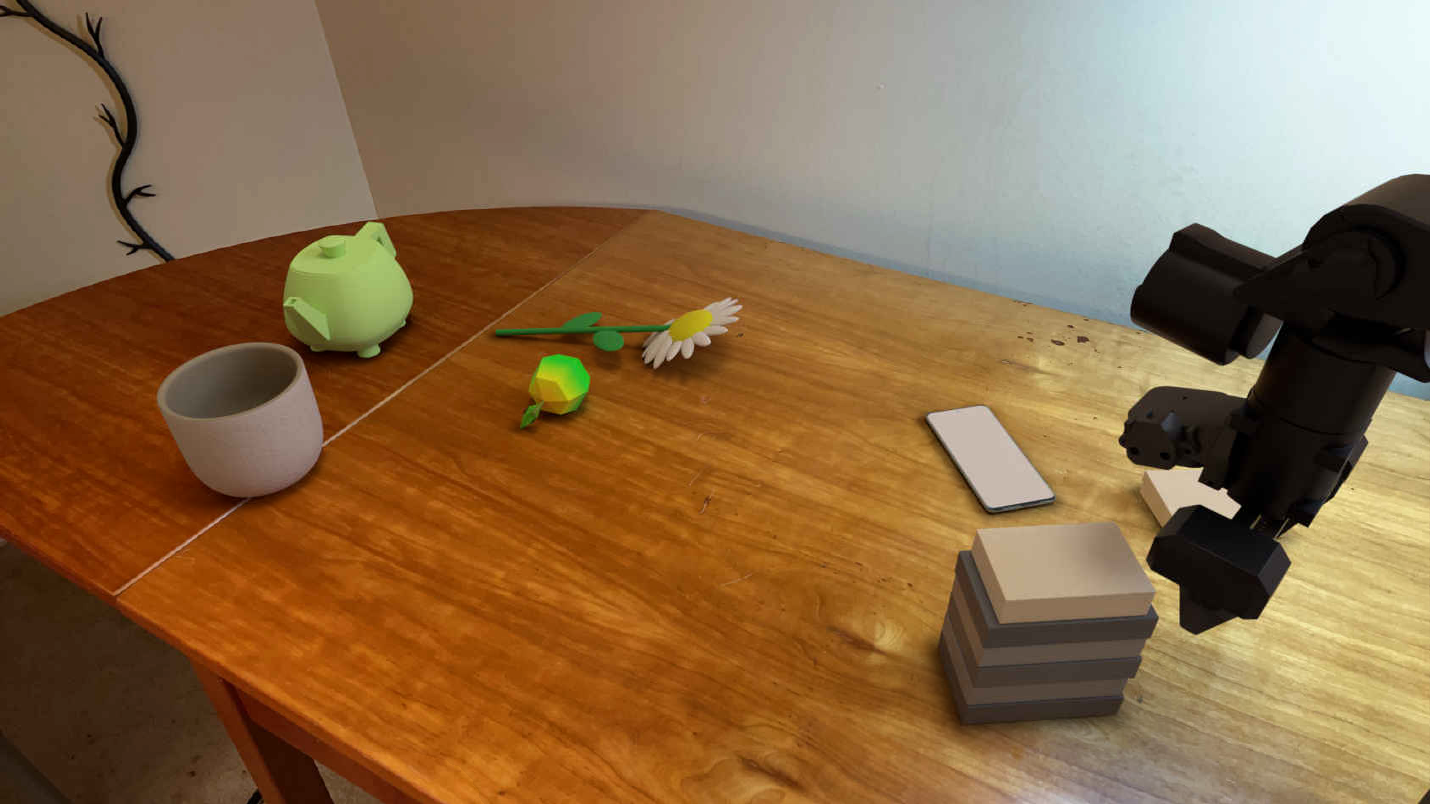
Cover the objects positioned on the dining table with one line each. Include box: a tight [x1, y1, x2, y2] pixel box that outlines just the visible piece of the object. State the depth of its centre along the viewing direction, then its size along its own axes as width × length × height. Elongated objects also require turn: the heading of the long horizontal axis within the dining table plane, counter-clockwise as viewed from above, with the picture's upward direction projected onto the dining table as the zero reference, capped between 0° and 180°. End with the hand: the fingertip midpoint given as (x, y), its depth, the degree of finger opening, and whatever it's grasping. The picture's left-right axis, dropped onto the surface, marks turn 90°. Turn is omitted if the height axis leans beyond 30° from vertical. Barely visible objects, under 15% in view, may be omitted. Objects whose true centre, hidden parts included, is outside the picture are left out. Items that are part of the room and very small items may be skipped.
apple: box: [520, 353, 591, 429], centre depth 95 cm, size 7×6×9 cm
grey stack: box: [937, 549, 1160, 726], centre depth 66 cm, size 7×12×11 cm, turn 94°
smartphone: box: [925, 404, 1057, 514], centre depth 90 cm, size 7×1×15 cm
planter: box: [156, 341, 324, 498], centre depth 86 cm, size 12×12×11 cm
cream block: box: [971, 520, 1157, 624], centre depth 62 cm, size 6×10×2 cm, turn 94°
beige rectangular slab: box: [1138, 468, 1287, 539], centre depth 83 cm, size 7×10×2 cm
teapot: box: [282, 221, 414, 359], centre depth 105 cm, size 20×13×13 cm
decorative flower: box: [495, 297, 743, 370], centre depth 105 cm, size 13×5×30 cm
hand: (1216, 589), depth 60 cm, fingers open, 9 cm apart
